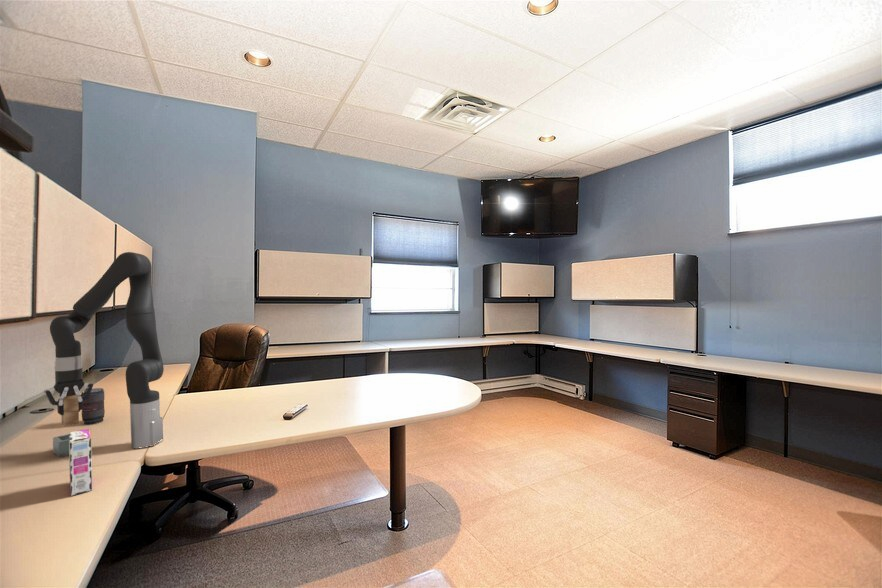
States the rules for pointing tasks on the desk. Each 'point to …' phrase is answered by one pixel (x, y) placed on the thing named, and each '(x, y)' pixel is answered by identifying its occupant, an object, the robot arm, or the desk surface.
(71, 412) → the tan wooden block
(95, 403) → the camera lens
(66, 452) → the slate open square box
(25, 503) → the desk surface
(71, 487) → the candy bar box
